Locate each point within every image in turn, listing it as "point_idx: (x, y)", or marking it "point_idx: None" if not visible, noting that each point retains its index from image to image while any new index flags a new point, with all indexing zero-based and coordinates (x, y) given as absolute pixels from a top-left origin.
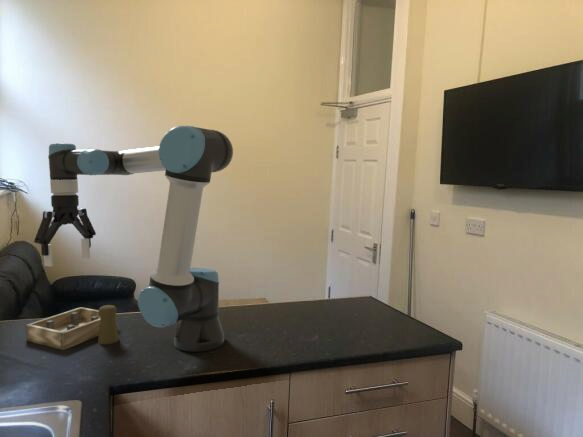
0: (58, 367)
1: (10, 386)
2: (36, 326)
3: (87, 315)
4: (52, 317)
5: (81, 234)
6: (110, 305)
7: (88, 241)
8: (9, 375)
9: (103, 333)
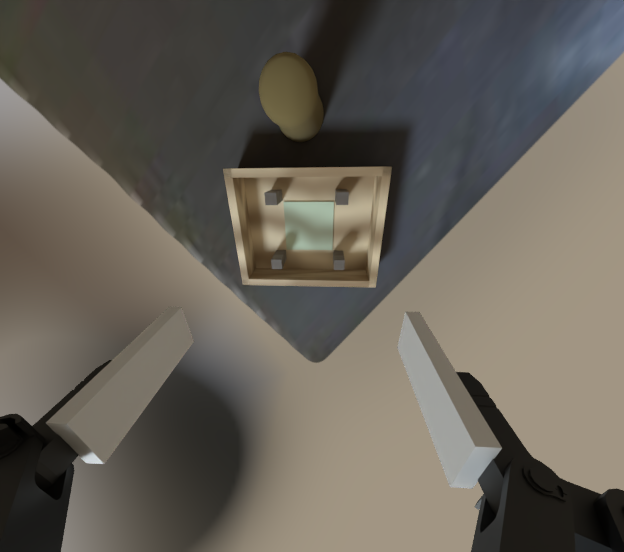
0: (466, 82)
1: (572, 93)
2: (375, 261)
3: (249, 253)
4: (319, 280)
5: (65, 509)
6: (274, 82)
7: (80, 397)
8: (519, 151)
9: (318, 100)
